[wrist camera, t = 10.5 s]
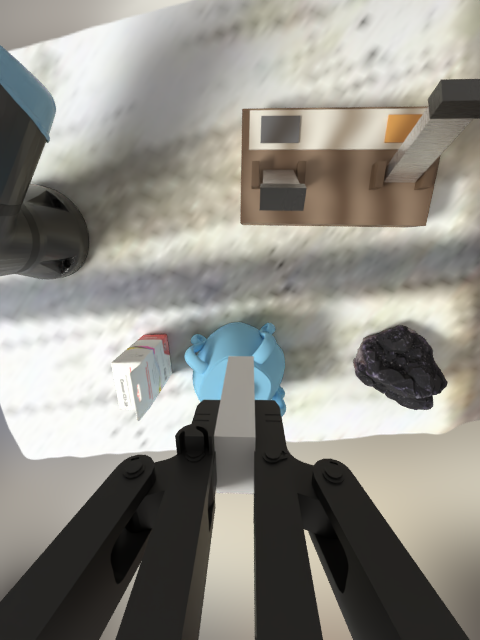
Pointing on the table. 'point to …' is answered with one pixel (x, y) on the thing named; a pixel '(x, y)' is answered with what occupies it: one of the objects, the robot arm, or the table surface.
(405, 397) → the black rock
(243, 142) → the switch unit
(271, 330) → the decorative pot
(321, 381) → the table surface
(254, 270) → the table surface
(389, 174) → the lever
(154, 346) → the ink cartridge box
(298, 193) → the lever
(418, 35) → the table surface
